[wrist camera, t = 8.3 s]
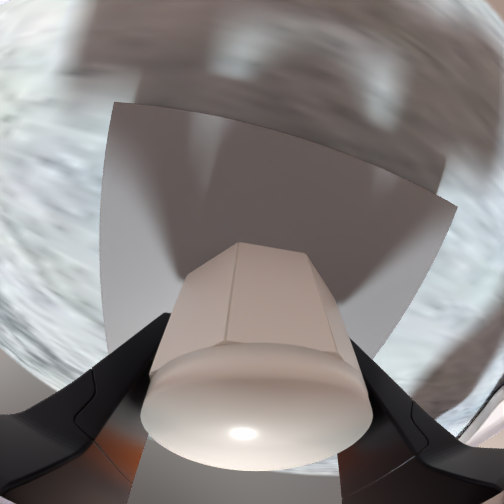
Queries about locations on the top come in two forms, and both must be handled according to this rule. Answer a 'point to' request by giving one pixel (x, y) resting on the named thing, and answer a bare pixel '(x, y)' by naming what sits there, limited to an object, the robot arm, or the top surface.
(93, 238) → the top surface
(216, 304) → the cap
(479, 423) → the salad plate
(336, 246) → the post base
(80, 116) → the top surface
